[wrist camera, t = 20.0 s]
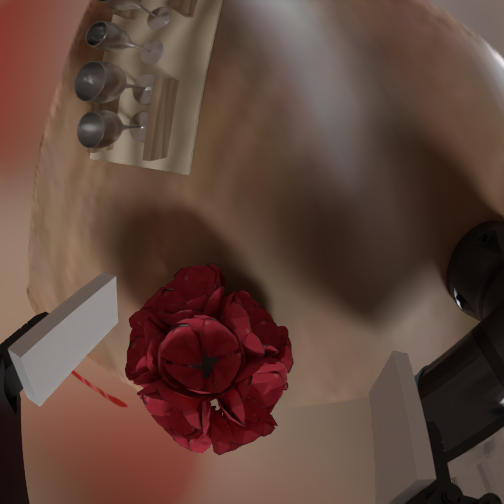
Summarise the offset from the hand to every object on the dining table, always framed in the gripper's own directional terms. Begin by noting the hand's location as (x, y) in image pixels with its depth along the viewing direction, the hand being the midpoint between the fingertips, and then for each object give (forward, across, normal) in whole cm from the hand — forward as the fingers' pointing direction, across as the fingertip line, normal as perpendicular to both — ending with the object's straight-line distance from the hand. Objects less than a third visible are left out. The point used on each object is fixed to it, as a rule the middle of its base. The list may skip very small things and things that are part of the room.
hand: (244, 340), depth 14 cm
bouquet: (+31, +5, +23) cm, 39 cm away
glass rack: (+31, +24, -18) cm, 43 cm away
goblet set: (+30, +24, -18) cm, 42 cm away
